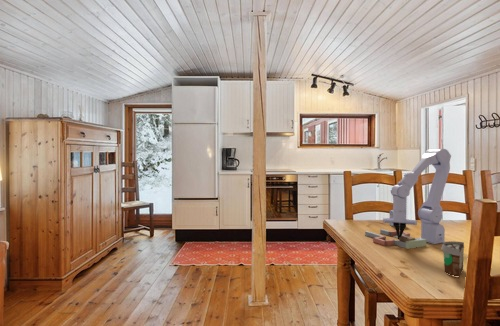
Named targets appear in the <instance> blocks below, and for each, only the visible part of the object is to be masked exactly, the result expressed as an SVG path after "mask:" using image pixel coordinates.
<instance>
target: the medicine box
mask: <svg viewBox="0 0 500 326" xmlns="http://www.w3.org/2000/svg"><path fill="white" fill-rule="evenodd" d="M389 218H393V209H390V210H389ZM388 225H389V226H391V227H394V224H393V223H388ZM399 227H400V224H399Z"/></svg>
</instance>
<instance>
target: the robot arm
mask: <svg viewBox="0 0 500 326" xmlns="http://www.w3.org/2000/svg"><path fill="white" fill-rule="evenodd" d="M451 158H452V155H451V153H450V152H449V150H448V149H446V148H436V149H435V148H434V149H433V148H428V149H427V150H425V152H424V153H423V154H422V157H421V159H420V160H419V162H418V163H417V164H416V165H415V167H414V168H413V169H412V171H410V172H406V173H404V175H403V177H402V178H401V179H400V181H398V182H397V184H395V185H393V186H392V187H391V190H390V194H391V195H392V210H393V218H390V217H389V218H387V217H385V218H384V217H383V218H382V224H386V223H387V224H389V223H393V224H394V226H393V227H394V229H395V231H396V232H397V236H398V238H397V240H399V237H402V234H403V232H405V229H406V227H407V225H412V226H418V220H415V219H407V204H408V203H407V200H408V199H407V198H408V196H409V195H410V193H411V189H412V188H413V187H414V186H415V185H416V184H417V182H418V181H419V176H420V175H421V174H422V173H423V172H424V171H425V170H426V169H427V168H428V167H429V166H431V165H432V166H433V167H434V169H435V171H434V175H433V179H432V182H431V185H430V189H429V192H428V196H427V198H426V200H425V201H424V202H423V203H421V206H420V208H419V209H418V210H417V215H418V218H419V219H420V223H421V224H420V225H421V226H420V227H421V228H420V230H421V231H420V237H417V238H416V239H426V243H429V244H431V245H432V244H433V245H436V244H437V245H438V244H443V243H444V242H447V241H445V234H446V233H445V226H444V225H442V224H440V222H441V221H442V219H443V210H444V209H443V207H442V205H441V200H442V197H443V193H444V190H445V187H446V184H447V180H448V177H449V173H450V171H451V164H450V162H451ZM399 224H400V226H399ZM399 231H400V234H399Z"/></svg>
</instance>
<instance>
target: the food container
mask: <svg viewBox="0 0 500 326" xmlns="http://www.w3.org/2000/svg"><path fill="white" fill-rule="evenodd" d="M464 249H465V241H464V242H463V241H455V240H453V241H446V242H444V243H442V245H441V248H440V250H441V251H442V253H443V265H444V267H443V268H444V273H445V272H446V273H448V274H450V275H454V276H459V277H460V278H461V276H460V274H461V272H462V270H463V271H464V256H465V253H464ZM446 273H445V274H446ZM462 273H463V272H462ZM448 274H447V275H448ZM450 275H449V276H450ZM461 275H462V274H461Z"/></svg>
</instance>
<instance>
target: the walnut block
mask: <svg viewBox="0 0 500 326" xmlns="http://www.w3.org/2000/svg"><path fill="white" fill-rule="evenodd" d="M415 239H416V238H415V237H413V236H410V237H409V236H402V237H399V239H398V241H401V242H405V243H406V241H412V240H415Z"/></svg>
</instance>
